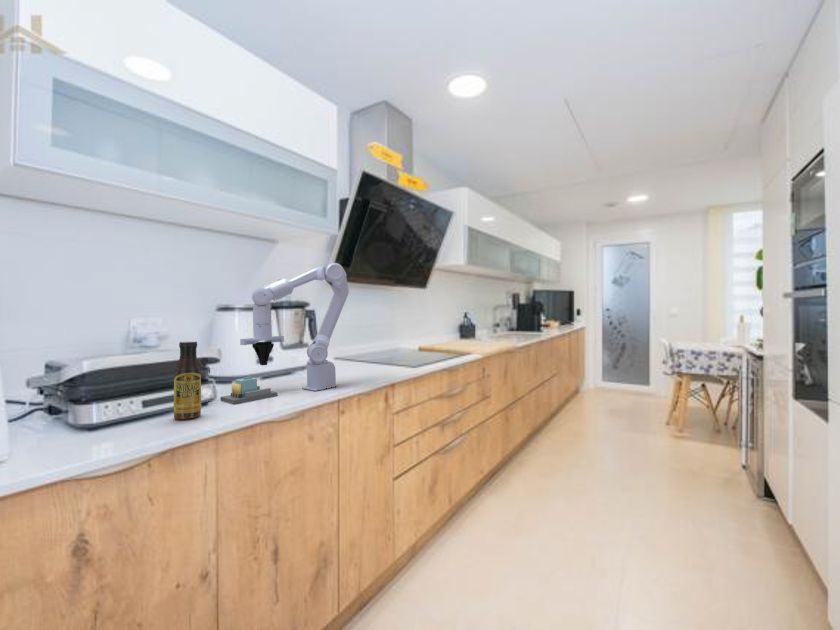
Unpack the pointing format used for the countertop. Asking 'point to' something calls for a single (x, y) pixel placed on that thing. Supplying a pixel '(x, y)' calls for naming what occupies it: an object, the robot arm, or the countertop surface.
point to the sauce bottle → (187, 383)
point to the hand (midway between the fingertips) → (263, 365)
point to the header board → (247, 395)
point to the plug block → (247, 384)
